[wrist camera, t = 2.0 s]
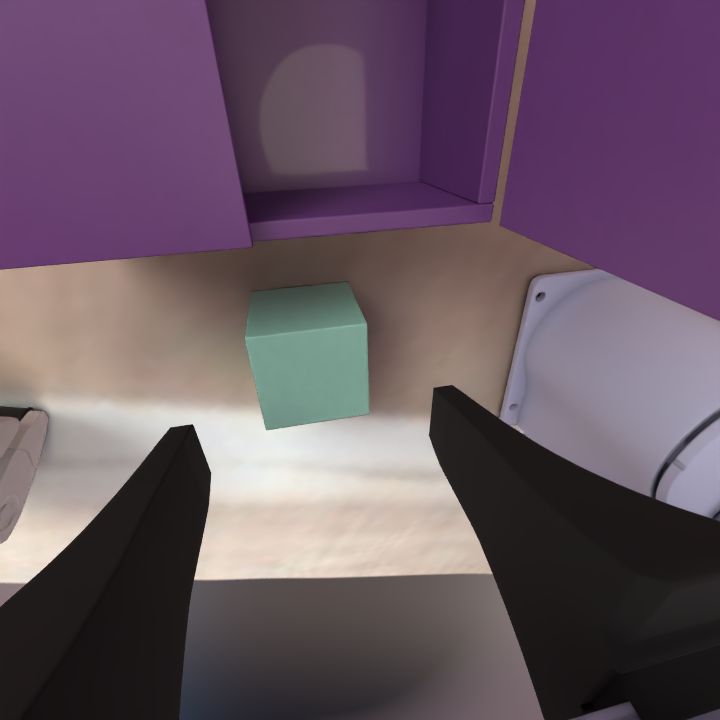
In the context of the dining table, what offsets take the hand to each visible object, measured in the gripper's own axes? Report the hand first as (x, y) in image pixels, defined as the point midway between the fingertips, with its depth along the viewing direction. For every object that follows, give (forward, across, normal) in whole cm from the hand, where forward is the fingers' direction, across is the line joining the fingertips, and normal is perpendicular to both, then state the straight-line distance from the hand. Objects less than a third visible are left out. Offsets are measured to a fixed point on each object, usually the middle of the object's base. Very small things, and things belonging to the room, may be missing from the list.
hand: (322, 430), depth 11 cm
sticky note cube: (+7, 0, 0) cm, 7 cm away
